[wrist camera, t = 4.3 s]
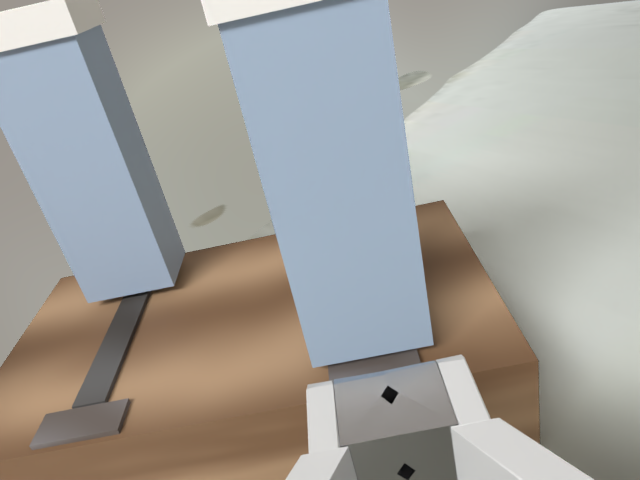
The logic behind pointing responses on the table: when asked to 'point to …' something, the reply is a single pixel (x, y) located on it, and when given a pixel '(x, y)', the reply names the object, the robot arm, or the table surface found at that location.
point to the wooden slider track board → (227, 367)
